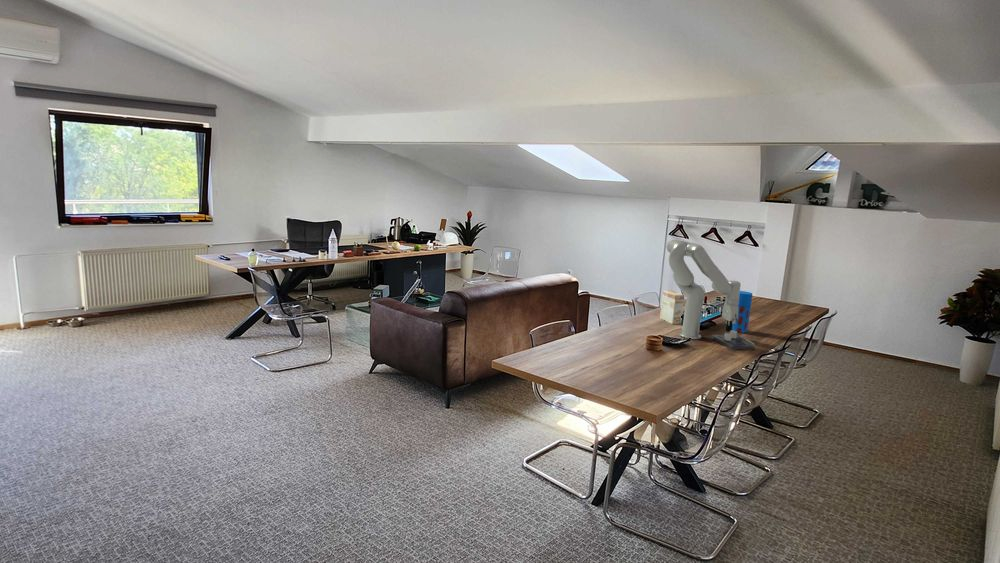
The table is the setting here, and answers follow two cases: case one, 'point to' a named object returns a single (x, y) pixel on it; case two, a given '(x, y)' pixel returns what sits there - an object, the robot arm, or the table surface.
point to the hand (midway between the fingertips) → (728, 331)
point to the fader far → (733, 333)
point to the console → (734, 342)
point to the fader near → (727, 336)
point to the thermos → (743, 312)
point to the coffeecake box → (671, 306)
